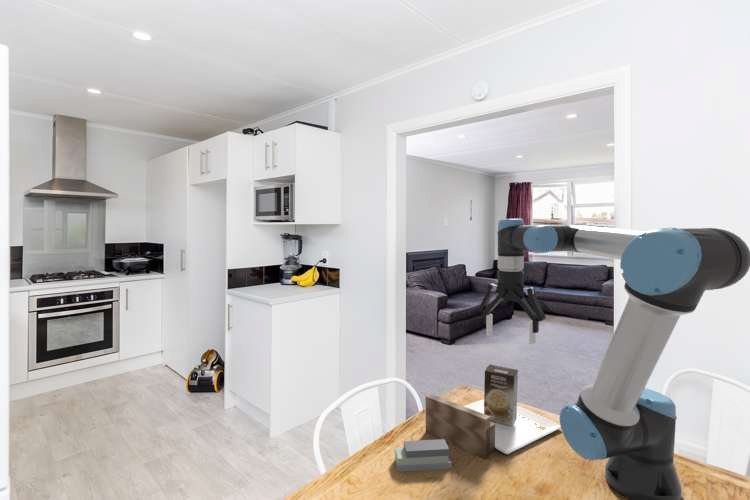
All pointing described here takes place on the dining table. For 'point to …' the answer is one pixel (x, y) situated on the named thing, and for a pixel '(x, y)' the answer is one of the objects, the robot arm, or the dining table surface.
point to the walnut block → (460, 426)
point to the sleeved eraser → (423, 455)
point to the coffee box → (501, 395)
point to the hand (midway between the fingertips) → (510, 339)
